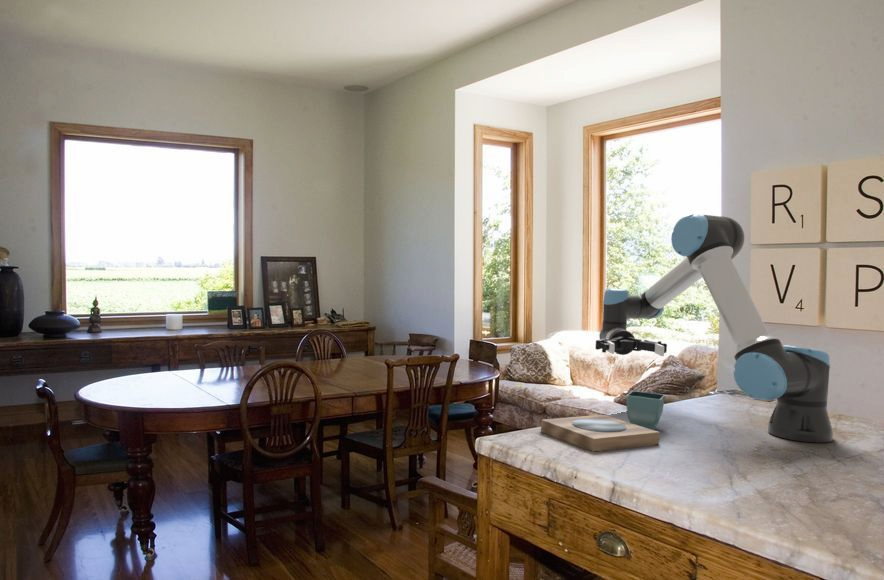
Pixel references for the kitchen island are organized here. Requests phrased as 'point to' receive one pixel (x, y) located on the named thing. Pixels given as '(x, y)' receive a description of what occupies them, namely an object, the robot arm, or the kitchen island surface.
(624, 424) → the walnut plinth
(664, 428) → the kitchen island surface
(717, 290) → the robot arm
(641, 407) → the flower pot
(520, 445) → the kitchen island surface
